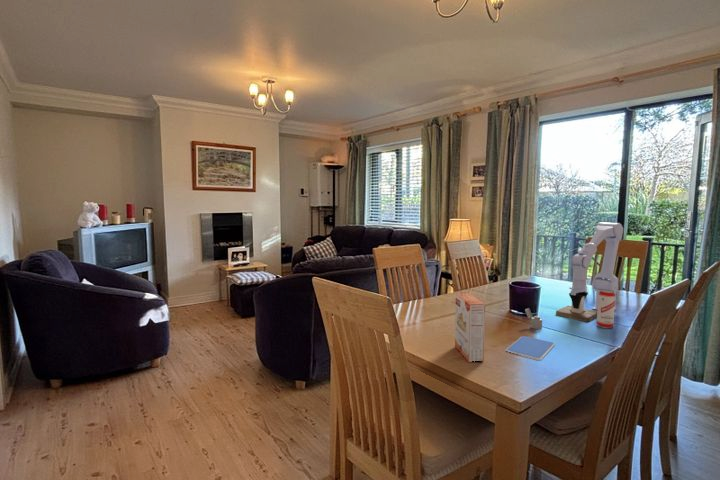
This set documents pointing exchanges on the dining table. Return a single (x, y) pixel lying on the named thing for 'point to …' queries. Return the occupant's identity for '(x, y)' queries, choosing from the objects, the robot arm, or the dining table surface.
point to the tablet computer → (531, 347)
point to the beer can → (606, 308)
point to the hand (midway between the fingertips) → (577, 307)
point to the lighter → (534, 320)
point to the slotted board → (577, 314)
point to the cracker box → (470, 327)
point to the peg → (581, 307)
